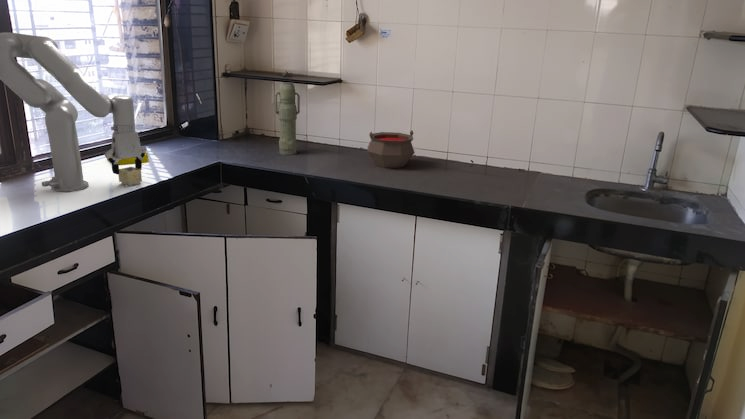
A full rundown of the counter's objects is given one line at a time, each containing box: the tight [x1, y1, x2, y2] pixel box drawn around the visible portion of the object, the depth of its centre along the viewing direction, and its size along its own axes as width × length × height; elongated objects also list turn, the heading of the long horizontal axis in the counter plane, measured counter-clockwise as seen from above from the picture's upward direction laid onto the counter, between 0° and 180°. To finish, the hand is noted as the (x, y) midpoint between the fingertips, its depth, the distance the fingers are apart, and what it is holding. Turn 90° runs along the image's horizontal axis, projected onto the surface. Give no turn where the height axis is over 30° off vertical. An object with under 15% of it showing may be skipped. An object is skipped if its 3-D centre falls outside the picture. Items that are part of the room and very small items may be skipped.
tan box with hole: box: [117, 166, 143, 184], centre depth 222 cm, size 6×6×5 cm
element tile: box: [110, 152, 149, 166], centre depth 257 cm, size 15×15×5 cm
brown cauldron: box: [367, 129, 416, 169], centre depth 267 cm, size 24×24×16 cm
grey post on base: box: [120, 167, 141, 187], centre depth 222 cm, size 5×5×6 cm
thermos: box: [274, 81, 301, 156], centre depth 278 cm, size 9×12×35 cm
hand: (127, 171), depth 221 cm, fingers open, 9 cm apart
